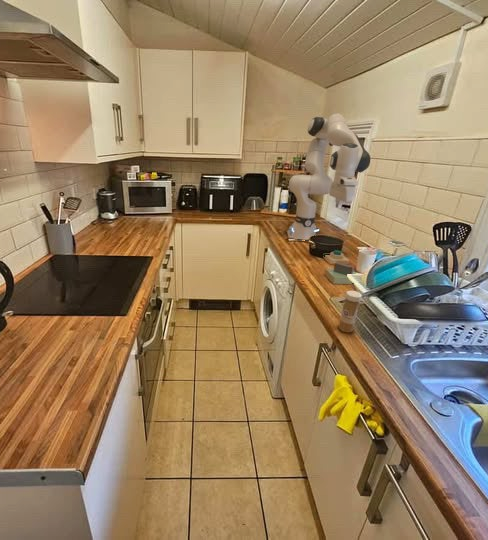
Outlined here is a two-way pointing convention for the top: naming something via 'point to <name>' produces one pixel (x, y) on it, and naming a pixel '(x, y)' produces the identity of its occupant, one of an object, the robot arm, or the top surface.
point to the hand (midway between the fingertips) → (338, 207)
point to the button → (337, 252)
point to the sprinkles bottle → (349, 311)
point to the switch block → (336, 258)
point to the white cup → (365, 260)
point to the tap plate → (337, 277)
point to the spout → (343, 268)
